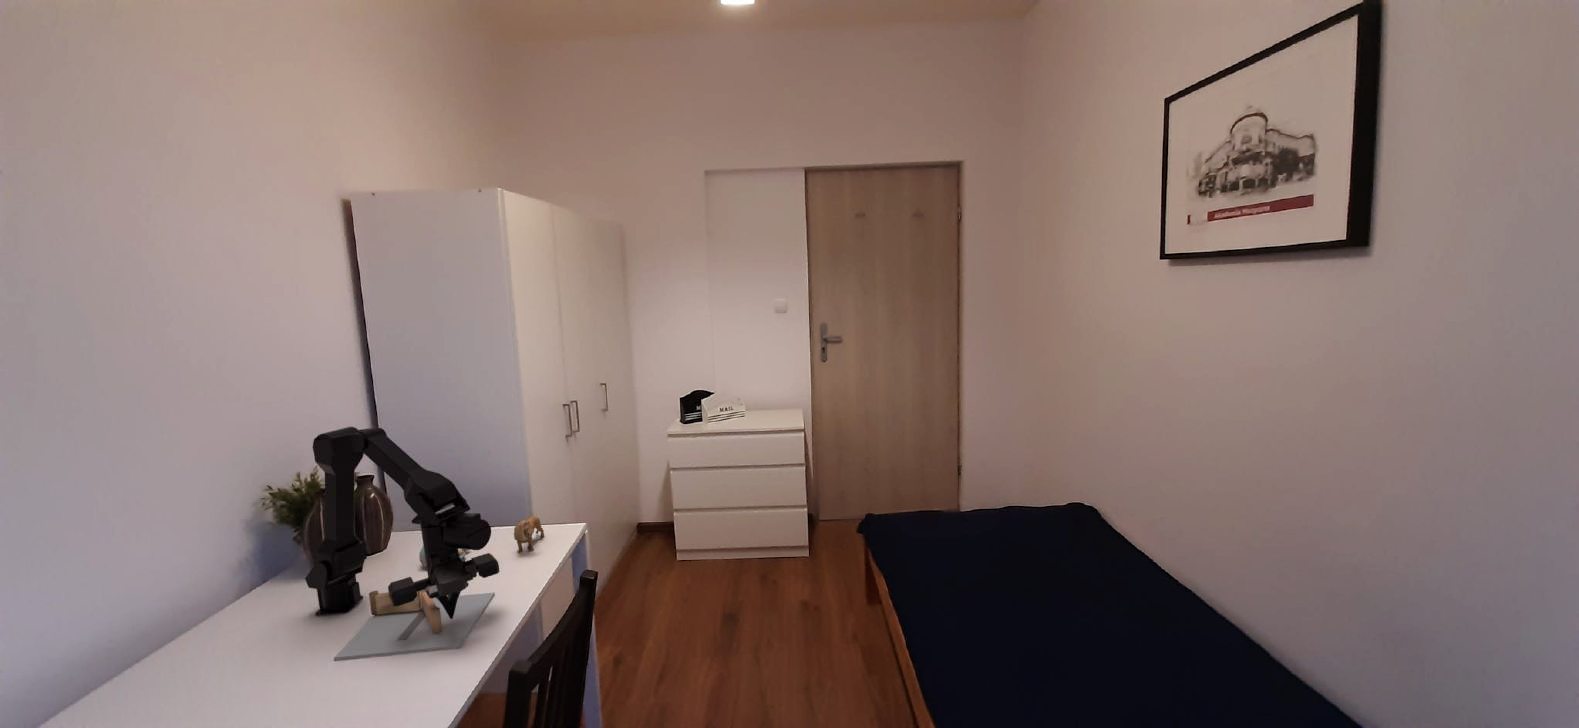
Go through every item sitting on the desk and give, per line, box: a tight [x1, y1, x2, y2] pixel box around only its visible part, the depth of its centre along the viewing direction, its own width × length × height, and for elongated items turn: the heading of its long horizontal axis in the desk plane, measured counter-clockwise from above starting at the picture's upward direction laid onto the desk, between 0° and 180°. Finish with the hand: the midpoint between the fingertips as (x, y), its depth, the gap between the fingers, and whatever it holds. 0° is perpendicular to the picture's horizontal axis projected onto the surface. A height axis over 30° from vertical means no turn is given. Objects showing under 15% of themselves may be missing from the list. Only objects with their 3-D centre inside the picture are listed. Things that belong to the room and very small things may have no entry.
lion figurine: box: [513, 515, 545, 554], centre depth 163 cm, size 15×5×9 cm, turn 11°
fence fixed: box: [368, 590, 422, 616], centre depth 131 cm, size 10×2×4 cm, turn 97°
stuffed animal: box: [419, 545, 470, 568], centre depth 157 cm, size 11×7×12 cm
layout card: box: [333, 592, 496, 661], centre depth 128 cm, size 22×20×1 cm
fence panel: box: [420, 589, 442, 633], centre depth 128 cm, size 13×2×4 cm, turn 39°
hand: (451, 618), depth 126 cm, fingers closed
